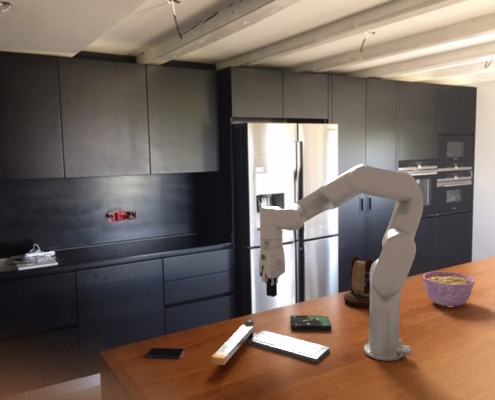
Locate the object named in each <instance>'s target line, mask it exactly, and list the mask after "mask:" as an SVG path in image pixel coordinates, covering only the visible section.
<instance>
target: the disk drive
mask: <svg viewBox="0 0 495 400" xmlns="http://www.w3.org/2000/svg"><path fill="white" fill-rule="evenodd" d="M289 316H290V331H291V332H332V324H331V323H332V322H331V320H330V318H329V316H328V315H298V314H297V315H289Z"/></svg>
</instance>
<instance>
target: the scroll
mask: <svg viewBox="0 0 495 400" xmlns="http://www.w3.org/2000/svg"><path fill="white" fill-rule="evenodd" d="M373 263H374V261H373V260H372V258H368V259H366V261H364V260H363V261H362V260H360V257H359V256H357V255H355V256H353V258H352V259H351V260H350V271H349V275H350V276H351V278H350V282H349V283H350V292H347V293H345V294H344V295H343V300H344V303H346V304H347V303H349V304H351V305H356V306H363V309H366V307H367V306H370V268H371V266H372V264H373ZM365 278H367V279H368V280H367V281H366V282H365Z"/></svg>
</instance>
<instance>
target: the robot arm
mask: <svg viewBox="0 0 495 400" xmlns="http://www.w3.org/2000/svg"><path fill="white" fill-rule="evenodd" d="M361 194H364V195H368V196H373V197H377V198H383V199H388V200H392V201H394V207H393V210H392V213H391V217H390V220H389V222H388V226H387V227H386V231H385V232H384V235H383V237H382V240H381V246H382V248H381V251H380V255H379V257H378V258H377V259H376V260H375V261H373V264H372V266H371V268H370V272H369V275H370V279H369V280H370V305H369V310H368V311H369V312H368V313H369V321H368V322H369V324H368V342H367V343H366V344H365V345H364V346H363V352H364V353H365V355H367V356H368V357H370V358H371V359H375V360H379V361H386V362H391V361H398V360H401V359H402V358H403V357H404V355H406V356H412V355H413V350H412V349H411V346H409V345H404V344H403V340H402V339H400V321H401V320H400V319H401V317H400V315H401V290H402V289H403V288H404V285H405V283H406V280H407V278H408V276H409V273H410V271H411V267H412V265H413V262H414V260H415V257H416V253H417V244H416V242H415V237H416V233H417V231H418V228H419V224H420V222H421V220H422V219H421V218H422V215H423V211H424V198H423V192H422V190H421V187H420V186H419V184H418V182H417V181H416V179H415V177H414V176H413V175H412V174H410V173H408V171H404V170H391V169H383V168H379V167H375V166H372V165H369V164H367V163H359V164H357V165H355V166H353V167H352V168H350V169H348V170H347V171H345V172H344V173H342V174H340V175H339V176H336V177H335V178H333V179H331V180H330V181H327V182H326V183H325V184H323V185H321V186H320V187H319V188H318V189H316V190H314V191H313V192H311V193H310V194H307V195H306V196H304V197H303V198H301V199H300V200H298V201H296V202H294V203H292V204H291V205H290V206H288V207H287V208H281V207H280V206H274V205H269V206H267V205H266V206H263V207H261V208H260V211H259V233H260V234H259V236H260V237H259V241H260V243H259V244H260V245H259V247H260V249H259V250H260V251H259V259H258V260H259V261H258V262H259V263H258V272H259V273H258V274H259V277H260V278H261V283H265V285H266V287H265V289H266V291H265V292H266V296H267V297H272V298H273V297H277V295H278V282H279V278H280V277H281V275H283V274H285V272H286V260H285V259H286V258H285V257H286V256H285V251H284V246H283V230H286V231H290V232H291V231H292V232H293V231H298V230H300V229H301V228H302V227H303V226H304V224H305V223H306V222H308V221H309V220H311V219H313V218H314V217H317V216H318V215H319V214H321V213H323V212H326V211H329V210H335V209H336V208H339V207H341V206H342V205H344V204H346V203H347V202H349V201H351V200H353V199H354V198H356V197H358V196H360V195H361Z"/></svg>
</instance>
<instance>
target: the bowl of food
mask: <svg viewBox="0 0 495 400" xmlns="http://www.w3.org/2000/svg"><path fill="white" fill-rule="evenodd" d="M422 276H423V283H424V287H425V288H424V289H425V291H426V294H427V297H428V298H429V299H430V300H431V301H432V302H433V303H435V304H436V305H438V304H439V305H438V306H440V305H442V306H441V307H443V306H457V307H458V306H459V307H460V306H462V305H464V304H466V303H467V301H469V299H470V296H471V294H472V290H473V287H474V284H475V279H474V277H471V276H469V275H466V274H464V273H459V272H454V271H453V272H452V271H430V272H426V273H424V274H423V275H422Z"/></svg>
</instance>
